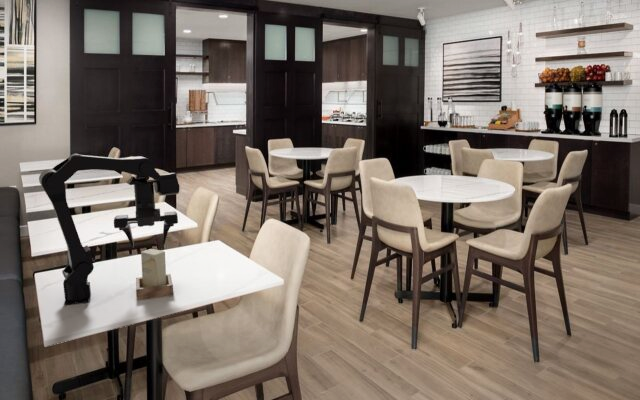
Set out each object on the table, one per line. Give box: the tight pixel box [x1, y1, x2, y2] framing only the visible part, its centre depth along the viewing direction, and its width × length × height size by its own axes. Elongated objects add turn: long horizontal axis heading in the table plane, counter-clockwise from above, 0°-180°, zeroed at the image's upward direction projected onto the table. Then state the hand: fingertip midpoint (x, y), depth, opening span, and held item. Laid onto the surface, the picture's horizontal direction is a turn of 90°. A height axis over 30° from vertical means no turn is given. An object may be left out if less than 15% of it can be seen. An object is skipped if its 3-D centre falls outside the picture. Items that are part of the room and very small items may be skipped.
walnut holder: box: [135, 273, 174, 301], centre depth 163 cm, size 11×11×3 cm
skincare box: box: [140, 248, 167, 288], centre depth 162 cm, size 6×4×12 cm
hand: (148, 246), depth 166 cm, fingers open, 9 cm apart
